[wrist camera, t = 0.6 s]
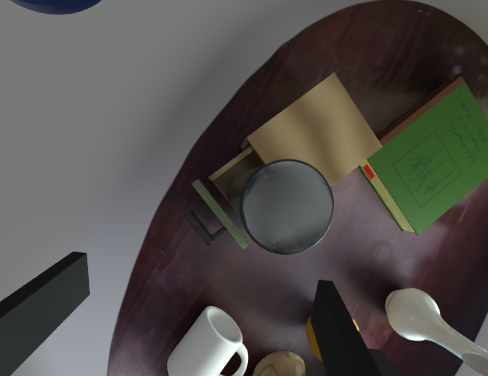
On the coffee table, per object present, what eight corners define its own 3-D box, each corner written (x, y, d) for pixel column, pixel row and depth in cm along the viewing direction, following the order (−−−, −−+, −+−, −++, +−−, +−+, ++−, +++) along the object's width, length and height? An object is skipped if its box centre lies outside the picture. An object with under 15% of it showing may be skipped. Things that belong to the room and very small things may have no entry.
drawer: (219, 252, 41) (220, 266, 34) (176, 197, 39) (168, 201, 33) (304, 186, 42) (321, 187, 36) (265, 131, 41) (275, 121, 34)
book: (441, 84, 46) (461, 75, 42) (486, 159, 48) (509, 157, 44) (347, 157, 44) (360, 155, 40) (399, 233, 46) (415, 237, 42)
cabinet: (283, 205, 43) (300, 211, 34) (239, 146, 41) (246, 137, 33) (350, 153, 44) (382, 146, 36) (310, 93, 43) (334, 72, 34)
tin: (220, 176, 39) (229, 172, 15) (258, 166, 40) (322, 148, 16) (230, 214, 40) (254, 267, 16) (268, 204, 40) (343, 239, 17)
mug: (171, 343, 41) (161, 382, 33) (205, 298, 42) (203, 326, 34) (224, 377, 43) (227, 422, 35) (257, 333, 43) (266, 367, 35)
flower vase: (445, 279, 48) (693, 387, 23) (396, 354, 47) (599, 548, 22) (400, 245, 46) (615, 320, 21) (349, 321, 45) (511, 491, 21)
